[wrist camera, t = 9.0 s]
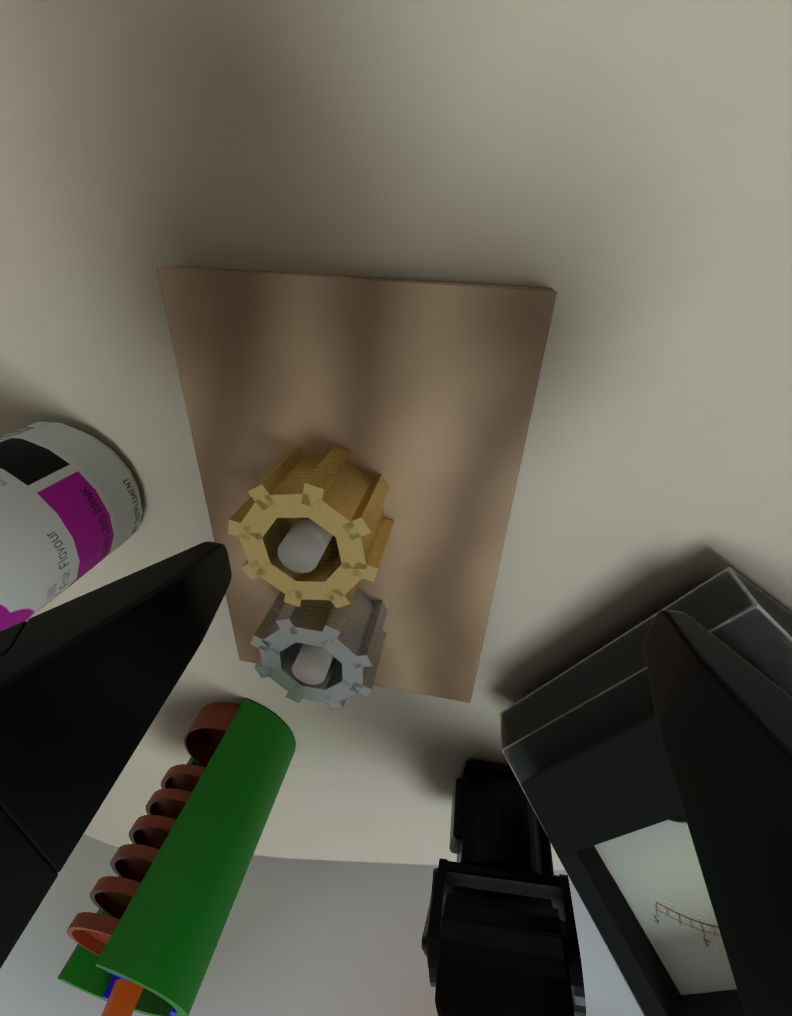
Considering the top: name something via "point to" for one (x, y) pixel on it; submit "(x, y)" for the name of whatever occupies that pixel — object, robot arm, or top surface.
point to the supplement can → (58, 513)
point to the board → (368, 437)
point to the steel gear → (323, 645)
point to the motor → (182, 866)
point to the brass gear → (332, 505)
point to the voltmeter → (639, 799)
